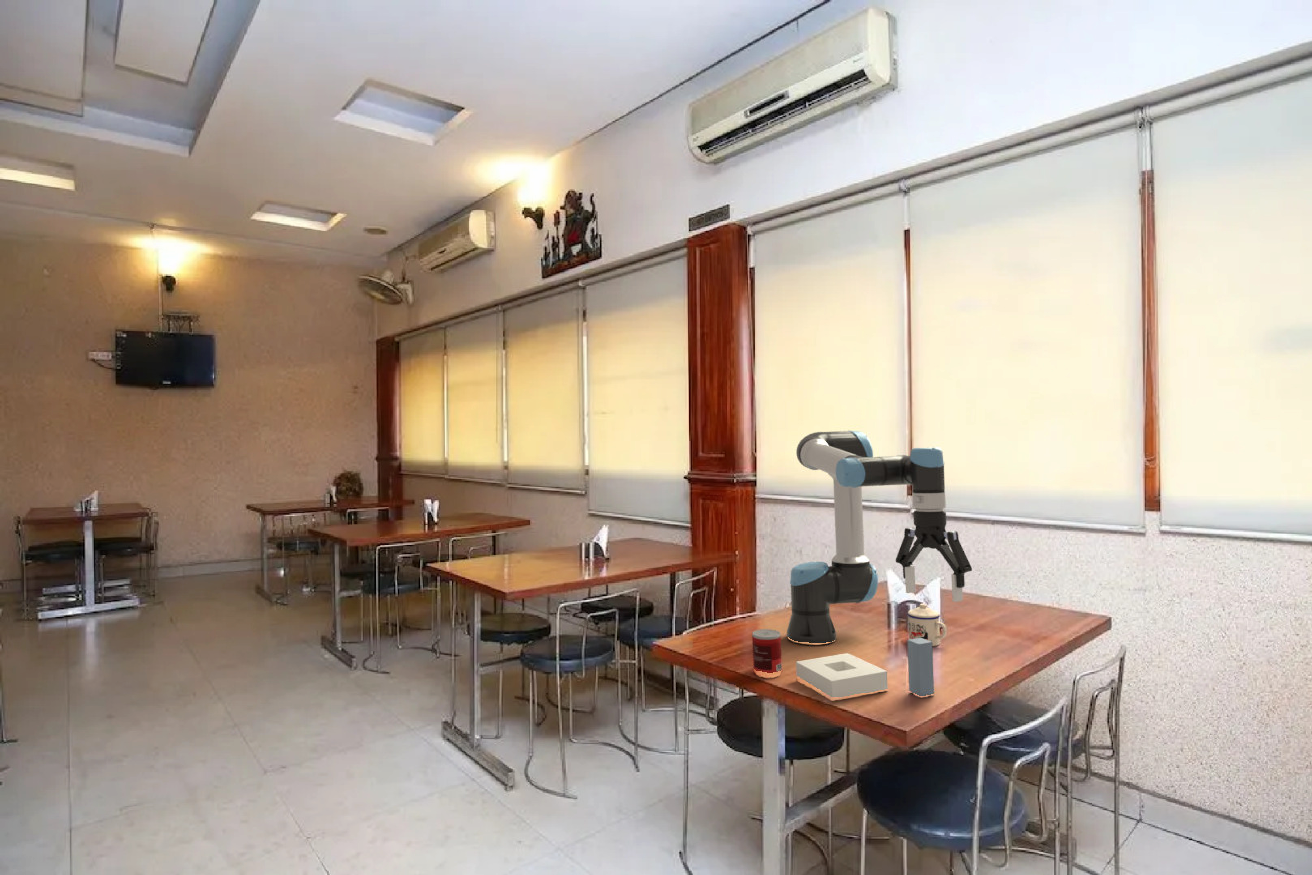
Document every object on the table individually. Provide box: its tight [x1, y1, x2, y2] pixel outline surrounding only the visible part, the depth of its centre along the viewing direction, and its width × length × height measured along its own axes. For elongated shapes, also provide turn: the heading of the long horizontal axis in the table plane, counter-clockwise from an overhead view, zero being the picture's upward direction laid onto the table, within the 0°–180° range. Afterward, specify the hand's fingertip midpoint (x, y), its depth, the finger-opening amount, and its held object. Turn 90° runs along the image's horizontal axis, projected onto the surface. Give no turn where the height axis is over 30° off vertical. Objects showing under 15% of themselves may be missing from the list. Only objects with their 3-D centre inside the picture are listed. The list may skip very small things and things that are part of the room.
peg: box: [906, 638, 935, 696], centre depth 167 cm, size 4×4×13 cm
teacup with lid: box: [907, 603, 948, 647], centre depth 207 cm, size 12×9×12 cm
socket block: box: [795, 652, 889, 697], centre depth 175 cm, size 16×16×5 cm
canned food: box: [751, 628, 783, 673], centre depth 186 cm, size 8×8×11 cm
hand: (933, 596), depth 169 cm, fingers open, 13 cm apart
